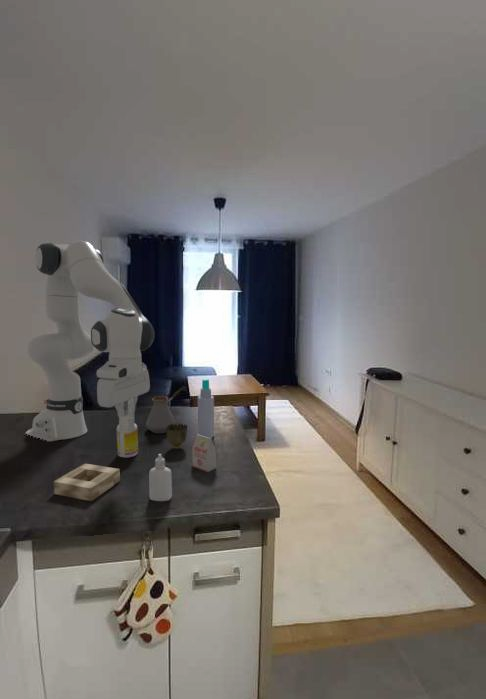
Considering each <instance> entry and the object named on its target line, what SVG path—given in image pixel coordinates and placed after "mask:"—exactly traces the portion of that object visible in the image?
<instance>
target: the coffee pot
mask: <svg viewBox="0 0 486 699" xmlns="http://www.w3.org/2000/svg"><path fill="white" fill-rule="evenodd" d="M187 389H188V388H187V387H186V386H185V385H183V386H182V387H180V388H179V390H177V391H175V392H174V394H173V395H172V396H171V397H168V396H156V397H155V396H154V397H153V398H151V400H152V403H153V405H152V407H151V410H150V412H149V414H148V418H147V420H146V422H145V426H146V428H147V430H149V431H150V432H152V433H153V434H165V433H166V428H167V425H170V424H173V425H175V424H176V420H175V418H174V416H173V413H172V412H171V409H170V407H169V406H168V404H169V403H170V402H171V401H172V400H173V399H174V398H176V397H177V395H179V394H180V392H182V391H187Z"/></svg>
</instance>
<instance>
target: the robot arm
mask: <svg viewBox="0 0 486 699" xmlns="http://www.w3.org/2000/svg"><path fill="white" fill-rule="evenodd" d="M34 261H35V265H36V269H38V271H39V272H40V273H41V274H44V275H46V282H45V316H46V317H47V318H48V320H50V321H51V322H53V323H54V324H55V325H56V327H57V331H58V332H56V333H45V334H42V335H39V336H35V337H33V338H32V339H31V340H30V341H29V342H28V345H27V353H28V357H29V358H30V360H31V361H32V362H33V363H34V364H36V365H38V366H39V367H40V368H41V370H43V372H44V374H45V376H46V380H47V386H48V396H49V398H48V399H46V400H45V399H44V402H43V404H46V406H45V408H44V409H43V410H42V411H40V412H39V413H38V414H37V415H36V416H35V417H34V418H33V419H32V428H30V429H28V430H27V431H25V435H26V434H27V435H26V436H28V435H30V436H29V437H31V436H33V437H32V438H35V437H36V438H35V439H38V438H40V439H39V440H42V439H43V440H42V441H45V440H46V441H45V442H54V441H59V440H61V441H62V440H68V439H75V438H78V437H81V436H83V435H85V434H87V432H88V428H87V424H86V421H85V416H84V410H83V408H84V406H83V405H84V402H83V401H84V398H83V395H82V387H81V386H82V385H81V384H82V383H81V377H80V375H79V374H78V373H77V372H75V371H72V369H71V367H70V364H69V362H71V361H77V360H81V359H83V358H86V357H88V356H91V355H92V353H93V352H94V349H96V350H97V351H99V352H103V353H109V354H108V360H107V361H106V362H105V363H104V365H102V366H101V367H99V368H98V369H97V370H96V377H97V378H99V379H98V381H97V384H96V385H97V386H96V397H97V403H98V405H99V406H100V407H102V408H113V407H114V408H115V409H116V411H117V417H118V418H119V417H124V416H126V410H124V408H123V405H124V402H125V401H127V400H129V399H132V398H134V412H136V405H137V401H138V397H140V396H142V395H144V394H146V393H149V391H150V388H151V383H150V382H151V381H150V380H151V379H150V375H149V370H148V367H147V365H146V364H145V363H144V362H142V352H145V351H146V350H148V349H149V348H150V347H151V346H152V344H153V342H154V341H155V338H156V337H155V336H156V335H155V333H156V332H155V329H154V327H153V325H152V323H151V322H150V321H149V320H148V318H147V317H145V316H144V315H143V313H142V311H141V310H140V308H139V307H138V305H137V303H136V302H135V300H134V299H133V297H132V296H131V294H130V293H129V291H128V290H127V288H126V286H124V284H123V283H122V282H121V281H119V280H118V279H116V278H114V276H113V275H112V274H111V273H110V272H109V271H108V270H107V268H106V267H105V264H104V257H103V254H102V252H101V251H100V250H99V249H97V248H95V247H94V246H93V245H92V244H91V243H90V242H88V241H85V240H75V241H73V242H71V243H70V244H64V243H63V244H61V243H52V242H48V243H41V244H39V246H37V248H36V250H35V254H34ZM79 294H81V295H83V296H84V297H87V298H91V299H96V300H100V301H103V302H106V303H109V304H112V305H113V306H115V307H116V308H115V309H111V310H110V311H109V313H108V316H107V317H105V318H103V319H102V320H97V321H96V322H95V323H94V324H93V326H91V329H90V334H89V333H88V332H87V331H86V330H85V329H84V326H83V324H82V322H81V318H80V301H79V300H80V299H79V298H80V295H79Z"/></svg>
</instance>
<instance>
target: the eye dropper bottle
mask: <svg viewBox="0 0 486 699" xmlns="http://www.w3.org/2000/svg"><path fill="white" fill-rule="evenodd" d="M154 463H155V464H154V467H152V468H151V469H150V470H149V472H148V488H149V489H148V490H149V500H151V501H155V502H167V501H170V500H171V499H172V497H173V481H172V480H173V479H172V469H170V468H169V467H166V459H165V458H164V457H163V456H162V453H158V456H157V457H156V459H155V460H154Z"/></svg>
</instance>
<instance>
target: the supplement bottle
mask: <svg viewBox="0 0 486 699" xmlns="http://www.w3.org/2000/svg"><path fill="white" fill-rule="evenodd" d="M134 425H135V431H133V432H131V433H129V434H125V433H120V432H119V424H117V427H116V443H117V455H118V457H120V458H125V459H127V458H132V457H135V456H136V455H138V453H139V438H138V436H139V435H138V434H139V433H138V424H137V423H135V422H134Z"/></svg>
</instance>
